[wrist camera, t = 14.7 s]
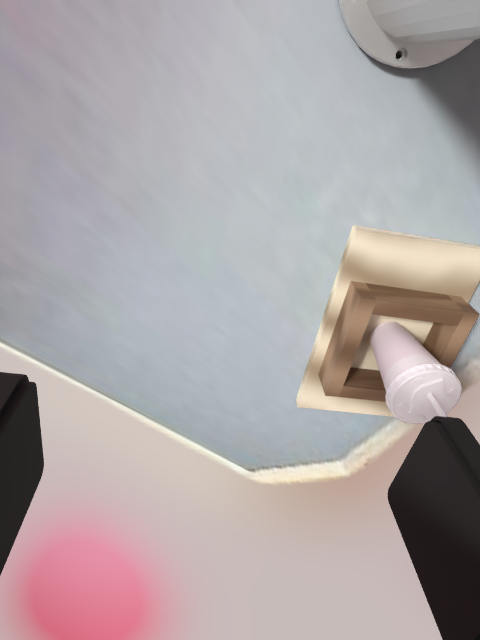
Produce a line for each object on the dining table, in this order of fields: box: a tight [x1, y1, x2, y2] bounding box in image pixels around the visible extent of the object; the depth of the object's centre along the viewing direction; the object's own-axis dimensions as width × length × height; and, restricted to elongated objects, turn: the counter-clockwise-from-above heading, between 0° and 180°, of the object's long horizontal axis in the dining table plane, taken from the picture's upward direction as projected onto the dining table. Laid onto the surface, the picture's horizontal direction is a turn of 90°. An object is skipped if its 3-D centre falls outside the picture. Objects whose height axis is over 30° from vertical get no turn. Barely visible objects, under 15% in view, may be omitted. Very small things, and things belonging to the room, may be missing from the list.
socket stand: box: [296, 225, 480, 416], centre depth 44 cm, size 22×14×5 cm, turn 170°
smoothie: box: [370, 321, 462, 424], centre depth 39 cm, size 6×6×14 cm
